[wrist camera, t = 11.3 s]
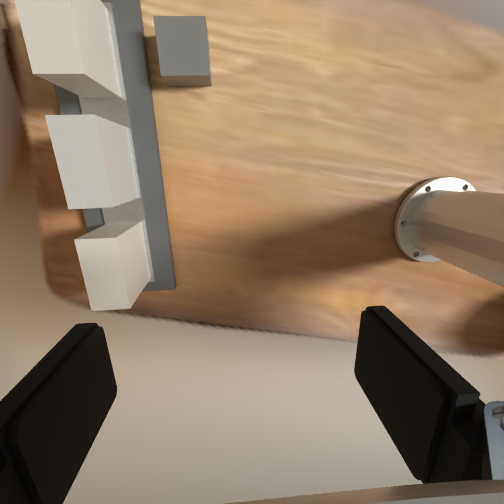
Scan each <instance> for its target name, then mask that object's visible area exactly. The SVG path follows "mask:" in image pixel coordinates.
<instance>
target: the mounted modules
mask: <svg viewBox="0 0 504 504" xmlns="http://www.w3.org/2000/svg"><path fill="white" fill-rule="evenodd" d="M15 4H16V8H17V12H18V16H19V20H20V24H21V28H22V32H23V36H24V40H25V44H26V48H27V52H28V56H29V61H30V65H31V69H32V73H33V74H34V75H36V76H38V77H41V78H43V79H45V80H47V81H49V82H51V83H53V84H55V85H57V86H60V87H62V88H64V89H66V90H68V91H70V92H72V93H74V94H76V95H79V96H81V97H83V98H121V93H120V87H119V80H118V74H117V68H116V62H115V56H114V49H113V43H112V37H111V31H110V25H109V18H108V12H107V8H106V7H105V5H104V4H103V3H102V2H101V0H15ZM74 242H75V246H76V250H77V254H78V258H79V262H80V266H81V270H82V274H83V278H84V282H85V286H86V290H87V294H88V298H89V302H90V306H91V310H92V311H102V310H117V309H130V308H131V307H132V305H133V304H134V302H135V301H136V299H137V298H138V296H139V295H140V293H141V292H142V290H143V289H144V287H145V286H146V284H147V283H148V282H149V280H150V273H149V267H148V260H147V254H146V248H145V242H144V236H143V229H142V223H141V222H118V223H108V224H105V225H103V226H101V227H99V228H97V229H95V230H93V231H91V232H89V233H87V234H85V235H83V236H81V237H78V238H76V239H74Z"/></svg>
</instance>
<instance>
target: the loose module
mask: <svg viewBox="0 0 504 504" xmlns="http://www.w3.org/2000/svg"><path fill="white" fill-rule="evenodd" d="M45 118H46V122H47V126H48V130H49V134H50V138H51V142H52V146H53V150H54V154H55V157H56V161H57V165H58V169H59V173H60V177H61V181H62V185H63V189H64V193H65V197H66V201H67V205H68V209H87V208H110V207H115V206H118V205H120V204H123V203H126V202H129V201H131V200H134V199H137V198H139V195H138V189H137V183H136V177H135V171H134V165H133V159H132V153H131V147H130V141H129V135H128V128H127V127H125V126H123V125H120V124H117V123H115V122H112V121H110V120H107V119H105V118H102V117H99V116H97V115H94V114H85V115H45Z"/></svg>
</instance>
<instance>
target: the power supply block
mask: <svg viewBox="0 0 504 504" xmlns="http://www.w3.org/2000/svg"><path fill="white" fill-rule="evenodd" d="M154 24H155V33H156V41H157V49H158V57H159V65H160V73H161V77H162V78H163V79H164V81H165V82H166V84H167V85H168V86H212V84H211V70H210V56H209V41H208V31H207V24H206V17H205V16H154Z"/></svg>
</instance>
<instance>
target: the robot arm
mask: <svg viewBox="0 0 504 504" xmlns="http://www.w3.org/2000/svg"><path fill="white" fill-rule="evenodd" d="M394 234H395V239H396V242H397V244H398V246H399V248H400V249H401V250H402V252H403V253H405V254H406V255H407V256H409V257H410V258H412V259H414V260H417V261H420V262H426V263H431V262H438V261H442V260H443V261H445V262H447V263H450V264H452V265H454V266H457V267H459V268H461V269H463V270H466V271H468V272H470V273H473V274H475V275H477V276H479V277H482V278H484V279H486V280H489V281H491V282H493V283H495V284H498V285H500V286H502V287H504V194H499V193H489V192H479V191H476V190H475V188H474V187H473V186H472V185H471V184H470V183H469V182H467V181H465V180H464V179H460V178H457V177H437V178H433V179H430V180H428V181H425V182H423V183H422V184H420V185H419V186H417V187H416V188H415V189H414V190H412V191H411V192H410V193H409V194H408V196H407V197H406V198H405V199H404V201H403V202H402V204H401V206H400V207H399V210H398V212H397V215H396V218H395V224H394ZM354 371H355V376H356V379H357V381H358V382H359V384H360V386H361V388H362V389H363V391H364V393H365V394H366V396H367V398H368V400H369V401H370V403H371V405H372V406H373V408H374V410H375V412H376V413H377V415H378V417H379V418H380V420H381V422H382V423H383V425H384V427H385V429H386V430H387V432H388V434H389V435H390V437H391V439H392V440H393V442H394V444H395V446H396V447H397V449H398V451H399V452H400V454H401V456H402V457H403V459H404V461H405V463H406V464H407V466H408V468H409V469H410V471H411V473H412V474H413V476H414V477H415V478H416V479H417V480H421V481H422V483H423V484H415V485H403V486H393V487H383V488H373V489H363V490H353V491H343V492H333V493H323V494H313V495H303V496H294V497H284V498H274V499H264V500H255V501H246V502H236V503H227V504H504V401H492V402H489V403H488V404H485V403H484V402H482V401H481V400H480V399H479V396H480V393H479V392H478V391H477V390H476V389H475V388H474V387H473V386H472V385H471V384H470V383H469V382H468V381H466V380H465V379H464V378H463V377H462V376H461V375H460V374H459V373H458V372H457V371H455V370H454V369H453V368H452V367H451V366H450V365H449V364H448V363H447V362H446V361H444V360H443V359H442V358H441V357H440V356H439V355H438V354H437V353H436V352H435V351H434V350H432V349H431V348H430V347H429V346H428V345H427V344H426V343H425V342H424V341H423V340H421V339H420V338H419V337H418V336H417V335H416V334H415V333H414V332H413V331H412V330H410V329H409V328H408V327H407V326H406V325H405V324H404V323H403V322H402V321H401V320H400V319H398V318H397V317H396V316H395V315H394V314H393V313H392V312H391V311H390V310H389V309H387V308H386V307H385V306H369V307H367V308H366V310H365V311H362V313H361V320H360V328H359V336H358V344H357V352H356V361H355V369H354ZM116 394H117V385H116V381H115V377H114V372H113V368H112V364H111V360H110V355H109V351H108V347H107V342H106V338H105V334H104V330H103V328H102V327H99V326H98V325H97V323H81V324H76V325H75V326H74V327H73V328H72V329H71V330H70V331H69V332H68V333H67V334H66V335H65V336H64V337H63V338H62V339H61V340H60V341H59V342H58V343H57V344H56V345H55V346H54V347H53V348H52V349H51V350H50V351H49V352H48V353H47V354H46V355H45V356H44V357H43V358H42V359H41V360H40V361H39V362H38V363H37V364H36V366H34V367H33V369H32V370H31V371H30V372H29V373H28V374H27V375H26V376H25V377H24V378H23V379H22V380H21V381H20V382H19V383H18V384H17V385H16V386H15V387H14V388H13V389H12V390H11V391H10V392H9V393H8V394H7V395H6V396H5V397H4V398H3V399H2V400H1V401H0V504H63V502H64V500H65V498H66V496H67V494H68V492H69V490H70V488H71V486H72V484H73V482H74V480H75V478H76V476H77V474H78V472H79V470H80V468H81V466H82V464H83V462H84V460H85V458H86V456H87V454H88V452H89V450H90V448H91V446H92V444H93V442H94V440H95V438H96V436H97V434H98V432H99V430H100V428H101V426H102V424H103V422H104V420H105V418H106V415H107V414H108V412H109V410H110V408H111V406H112V404H113V402H114V400H115V397H116Z"/></svg>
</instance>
